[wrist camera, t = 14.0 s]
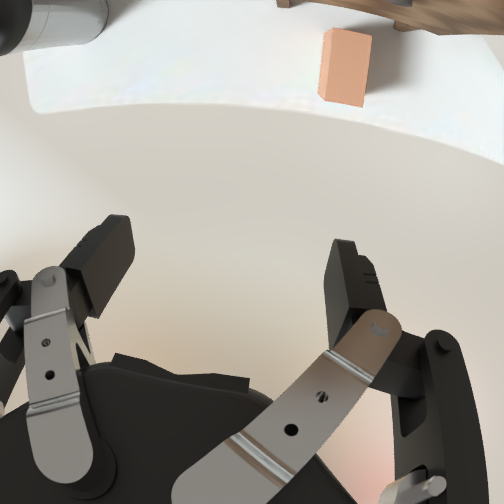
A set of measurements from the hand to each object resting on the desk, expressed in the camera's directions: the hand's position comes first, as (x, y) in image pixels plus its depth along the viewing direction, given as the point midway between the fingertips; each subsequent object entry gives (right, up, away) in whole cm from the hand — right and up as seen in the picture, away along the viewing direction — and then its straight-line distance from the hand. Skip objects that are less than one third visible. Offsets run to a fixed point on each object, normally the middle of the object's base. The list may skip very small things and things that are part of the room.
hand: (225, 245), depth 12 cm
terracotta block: (+12, +25, +23) cm, 36 cm away
